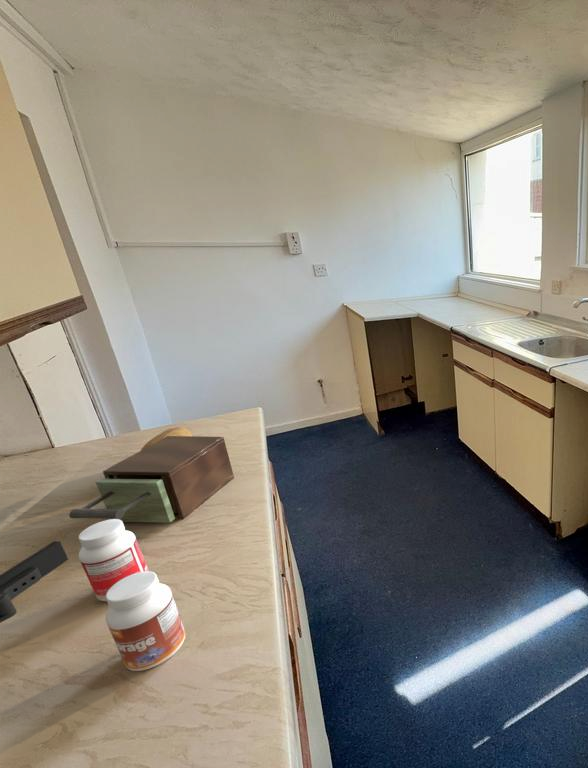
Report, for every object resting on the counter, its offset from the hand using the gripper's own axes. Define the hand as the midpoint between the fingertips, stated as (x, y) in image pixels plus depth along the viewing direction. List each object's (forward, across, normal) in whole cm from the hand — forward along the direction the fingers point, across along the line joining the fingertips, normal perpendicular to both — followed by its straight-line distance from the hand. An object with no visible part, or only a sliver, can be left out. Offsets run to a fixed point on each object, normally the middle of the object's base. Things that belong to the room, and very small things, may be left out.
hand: (6, 549), depth 48 cm
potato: (+47, -23, -16) cm, 55 cm away
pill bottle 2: (0, +14, -16) cm, 21 cm away
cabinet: (+33, -10, -16) cm, 38 cm away
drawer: (+27, -10, -15) cm, 33 cm away
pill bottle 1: (+10, 0, -16) cm, 19 cm away
